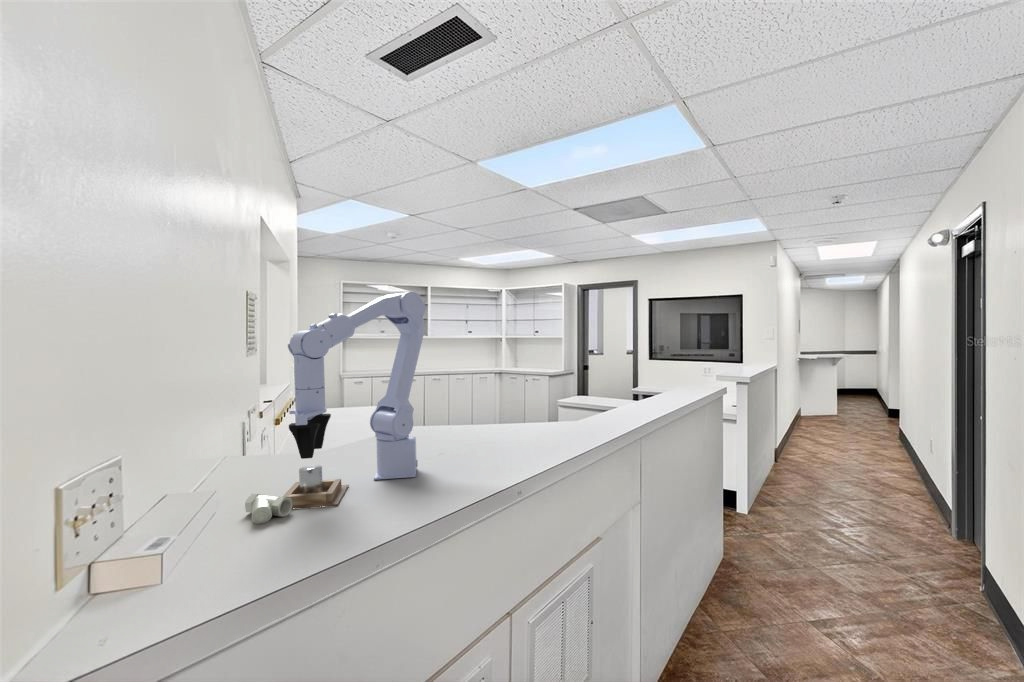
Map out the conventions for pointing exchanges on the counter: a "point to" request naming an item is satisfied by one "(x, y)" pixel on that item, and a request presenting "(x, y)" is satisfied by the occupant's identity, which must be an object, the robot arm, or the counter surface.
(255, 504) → the pipe fitting
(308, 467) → the silver metal cylinder
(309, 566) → the counter surface
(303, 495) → the cradle board
